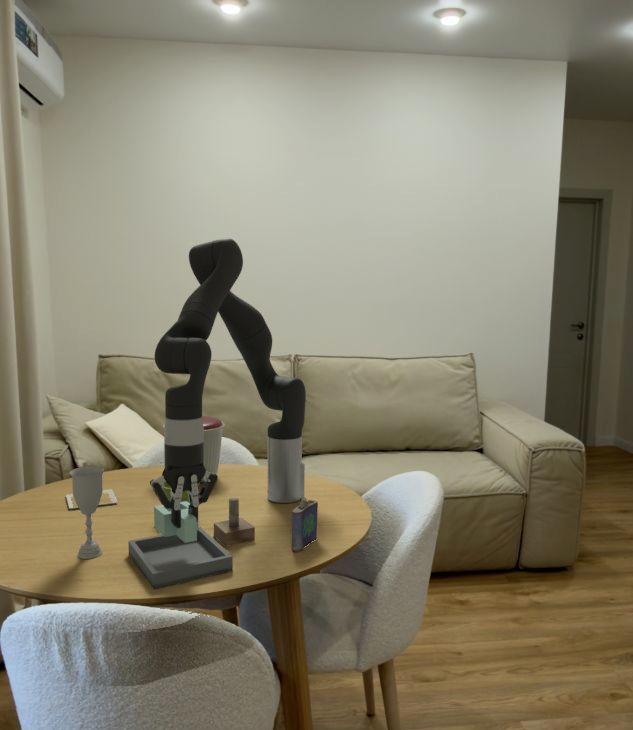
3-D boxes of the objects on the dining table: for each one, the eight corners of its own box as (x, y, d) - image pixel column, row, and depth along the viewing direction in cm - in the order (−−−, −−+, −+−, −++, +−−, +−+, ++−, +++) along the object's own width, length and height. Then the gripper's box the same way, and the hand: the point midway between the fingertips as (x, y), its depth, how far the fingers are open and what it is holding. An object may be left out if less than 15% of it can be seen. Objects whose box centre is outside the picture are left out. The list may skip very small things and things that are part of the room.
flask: (298, 553, 134) (299, 504, 132) (287, 550, 135) (287, 502, 134) (319, 539, 142) (320, 493, 140) (308, 536, 143) (308, 491, 142)
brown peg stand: (241, 530, 146) (241, 492, 145) (254, 540, 140) (254, 501, 139) (213, 535, 143) (213, 497, 142) (225, 546, 137) (225, 506, 136)
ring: (187, 521, 133) (186, 501, 133) (208, 538, 122) (207, 515, 122) (154, 527, 130) (153, 506, 129) (173, 545, 119) (172, 521, 119)
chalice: (78, 547, 136) (75, 466, 133) (110, 546, 136) (108, 466, 134) (68, 561, 128) (64, 476, 126) (101, 560, 129) (99, 475, 127)
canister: (163, 472, 193) (162, 404, 191) (222, 468, 197) (221, 403, 195) (163, 489, 176) (162, 416, 173) (228, 485, 180) (227, 413, 178)
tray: (200, 540, 140) (200, 527, 140) (232, 570, 125) (232, 556, 124) (128, 554, 132) (128, 541, 132) (153, 589, 117) (153, 574, 116)
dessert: (118, 506, 163) (117, 488, 163) (69, 512, 158) (68, 494, 158) (111, 492, 174) (111, 476, 174) (65, 498, 169) (65, 481, 168)
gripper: (210, 432, 128) (211, 514, 130) (143, 439, 121) (144, 525, 123) (224, 440, 122) (224, 525, 124) (154, 447, 115) (155, 538, 117)
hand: (184, 525), depth 123 cm, fingers closed on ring, 2 cm apart
